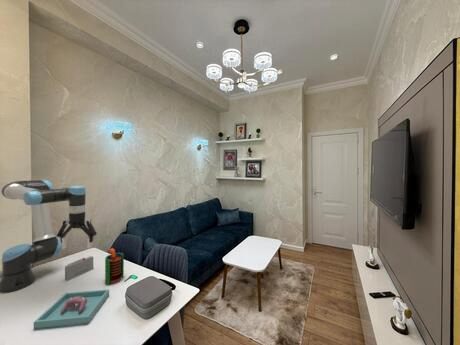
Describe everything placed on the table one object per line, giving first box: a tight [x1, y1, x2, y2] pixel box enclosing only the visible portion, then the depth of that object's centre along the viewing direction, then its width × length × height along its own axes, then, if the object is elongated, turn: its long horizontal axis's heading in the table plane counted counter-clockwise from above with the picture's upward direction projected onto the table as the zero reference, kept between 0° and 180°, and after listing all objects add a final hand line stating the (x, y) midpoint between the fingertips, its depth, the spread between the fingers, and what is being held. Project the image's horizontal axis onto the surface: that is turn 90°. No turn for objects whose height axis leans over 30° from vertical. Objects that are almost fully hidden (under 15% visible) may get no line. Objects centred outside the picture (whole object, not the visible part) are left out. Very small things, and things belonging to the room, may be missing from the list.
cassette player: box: [64, 255, 94, 282], centre depth 128 cm, size 16×3×10 cm, turn 157°
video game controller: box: [61, 296, 87, 314], centre depth 95 cm, size 10×5×7 cm, turn 93°
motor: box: [104, 248, 125, 286], centre depth 121 cm, size 10×9×20 cm
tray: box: [33, 288, 110, 331], centre depth 95 cm, size 22×20×4 cm
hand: (77, 247), depth 112 cm, fingers open, 13 cm apart
